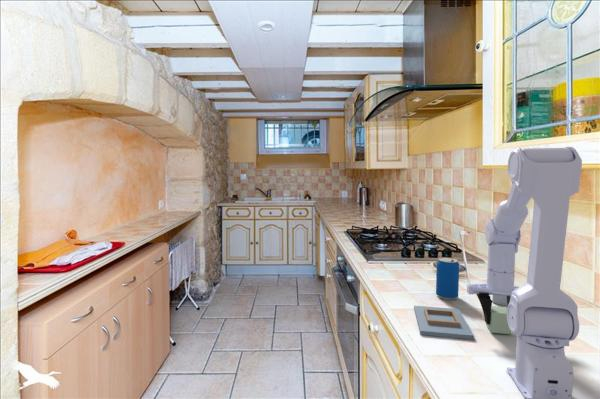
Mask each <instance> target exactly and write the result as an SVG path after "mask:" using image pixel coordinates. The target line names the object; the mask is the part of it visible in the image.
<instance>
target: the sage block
mask: <svg viewBox="0 0 600 399" xmlns="http://www.w3.org/2000/svg"><path fill="white" fill-rule="evenodd" d="M485 326H486V327H487V329H488V330H489V332H490V333H491V334H492V333H494V334H505V335H512V333H513V332H512V331H511V330H510V328H509V326H508V322H507V306H499V305H492V306H491V321H490V325H489V324H486V323H485Z"/></svg>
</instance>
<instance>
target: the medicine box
mask: <svg viewBox="0 0 600 399" xmlns="http://www.w3.org/2000/svg"><path fill="white" fill-rule="evenodd" d="M514 277H515V272H514ZM492 304H496V305H501V306H503V307H507V296H501V295H492Z"/></svg>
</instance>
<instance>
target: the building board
mask: <svg viewBox="0 0 600 399" xmlns="http://www.w3.org/2000/svg"><path fill="white" fill-rule="evenodd" d="M413 311H414V315H415V318H416V323H417V327H418V331H419V335H420V336H430V337H432V336H433V337H441V338H442V337H443V338H451V339H453V338H454V339H463V340H473V341H474V340H475V335H474V333H473V331H472V329H471V328H470V325H469V324H468V322H467V321H466V318H465V317H464V315H463V314H462V312H461V310H460V308H452V307H451V308H450V307H440V306H439V307H438V306H424V305H423V306H422V305H414V306H413Z"/></svg>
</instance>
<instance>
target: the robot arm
mask: <svg viewBox="0 0 600 399" xmlns="http://www.w3.org/2000/svg"><path fill="white" fill-rule="evenodd" d="M582 167H583V159H582V158H581V156H580V154H579V152H578V151H577V150H576V149H575V148H574V147H572V146H565V147H533V148H531V147H530V148H529V147H528V148H526V147H525V148H522V147H515V148H514V149H513V150H512V151H511V152H510V153H509V157H508V160H507V172H508V176H509V179H510V181H511V186H510V190H509V194H508V196H507V199H506V200H505V199H504V200H503V201H501V202H500V204H499V206H498V208H497V210H496V213H495V215H494V217H493V218H490V219H488V220H487V221H486V224H485V229H484V231H485V232H484V234H485V235H484V236H485V240H486V243H487V245H488V246H487V270H486V273H487V274H486V283H476V284H469V283H468V284H466V292H467V294H468V295H476V296H477V299H478V301H479V303H480V306H481V309H482V313H483V316H484V322H485V325H486V324H489V325H490V321H491V306H493V302H492V301H493V299H491V296H493V295H501V296H507V306H506V308H507V322H508V326H509V328H510V330H511V331H512V332H511V333H512V334H513V335H514V336H516V343H515V344H516V345H515V346H516V348H515V364H514V365H515V367H507V368H506V371H507V372H508V374H509V376H510V378H511V379H512V381H513V382H514V384H515V385H516V387H517V388H518V390H519V391H520V393H521V394H522V397H523V398H524V399H575V398H574V397H573V387H574V385H573V383H574V368H573V366H572V364H571V362H570V361H569V359H568V358H567V356H566V352H565V347H569V346H570V342H572V341H574V340H575V339H576V338H577V337H578V336H579V333H580V321H579V316H578V309H579V308H578V305H577V303H576V302H575V301H576V300H574V299H573V298H572V297H571V296H569V294H567V293H566V292H564V291H563V290H562V289H561V283H562V274H563V265H564V264H563V263H564V254H565V246H566V237H567V228H568V219H569V208H570V199H571V197H572V196H574V195H575V194H578V193H579V190H580V185H581V184H580V183H581V178H582V177H581V176H582ZM531 199H532V200H533V208H532V209H533V210H532V221H531V222H532V223H531V231H530V243H529V256H528V265H527V276H526V283H524V284H523V285H521V286H515V276H514V273H515V269H516V267H515V266H516V254H517V253H518V251H519V244H520V242H521V236H522V235H521V228H522V226H523V225H524V222H525V221H526V219H527V217H528V216H529V209H528V206H527V205H528V204H529V202H530V200H531Z"/></svg>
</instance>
